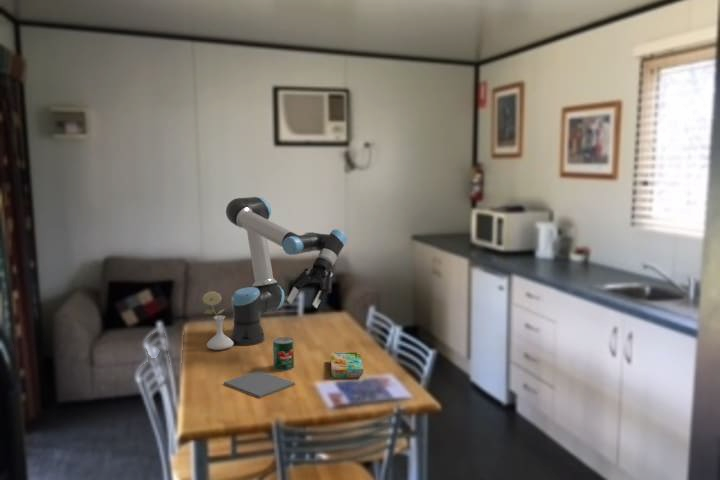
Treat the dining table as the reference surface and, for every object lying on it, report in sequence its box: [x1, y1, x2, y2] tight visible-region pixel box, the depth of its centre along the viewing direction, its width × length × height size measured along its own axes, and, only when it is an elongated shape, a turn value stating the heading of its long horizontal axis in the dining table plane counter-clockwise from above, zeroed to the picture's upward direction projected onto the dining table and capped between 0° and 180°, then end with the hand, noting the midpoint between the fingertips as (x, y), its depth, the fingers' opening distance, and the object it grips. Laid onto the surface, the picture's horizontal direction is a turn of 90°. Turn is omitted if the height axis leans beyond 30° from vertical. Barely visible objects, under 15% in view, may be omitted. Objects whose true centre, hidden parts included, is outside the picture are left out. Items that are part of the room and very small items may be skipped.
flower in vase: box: [201, 290, 235, 351], centre depth 250 cm, size 13×11×25 cm
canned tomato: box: [272, 336, 295, 372], centre depth 225 cm, size 8×8×11 cm
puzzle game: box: [330, 351, 364, 379], centre depth 223 cm, size 12×5×20 cm
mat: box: [223, 370, 296, 399], centre depth 208 cm, size 20×16×1 cm
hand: (301, 304), depth 232 cm, fingers open, 13 cm apart
